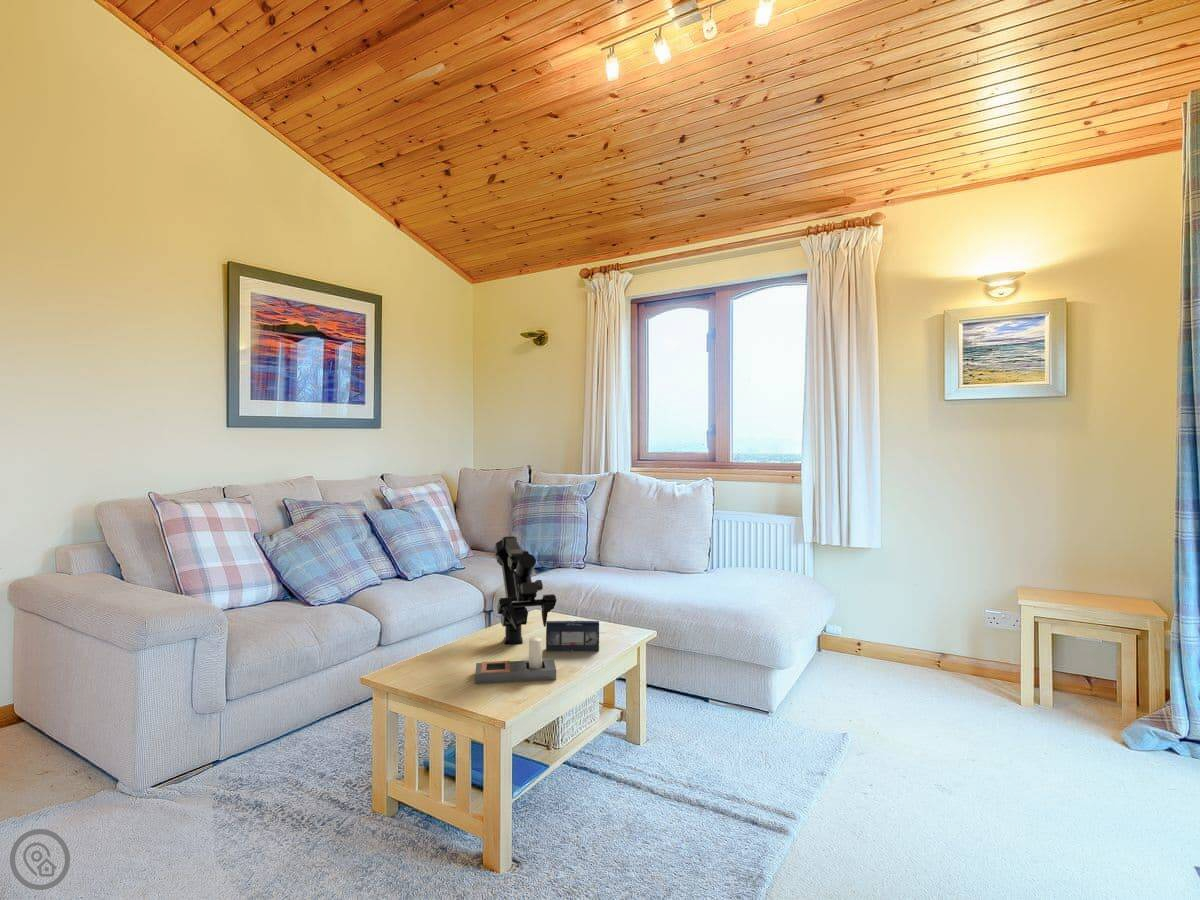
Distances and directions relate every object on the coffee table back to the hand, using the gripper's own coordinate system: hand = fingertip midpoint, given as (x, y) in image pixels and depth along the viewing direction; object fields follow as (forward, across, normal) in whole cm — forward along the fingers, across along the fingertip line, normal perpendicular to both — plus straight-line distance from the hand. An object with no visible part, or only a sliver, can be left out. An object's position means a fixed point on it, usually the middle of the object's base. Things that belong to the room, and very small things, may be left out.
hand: (530, 627), depth 193 cm
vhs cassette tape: (+1, +18, +18) cm, 25 cm away
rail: (+13, -6, +5) cm, 15 cm away
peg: (+14, 0, +4) cm, 14 cm away
